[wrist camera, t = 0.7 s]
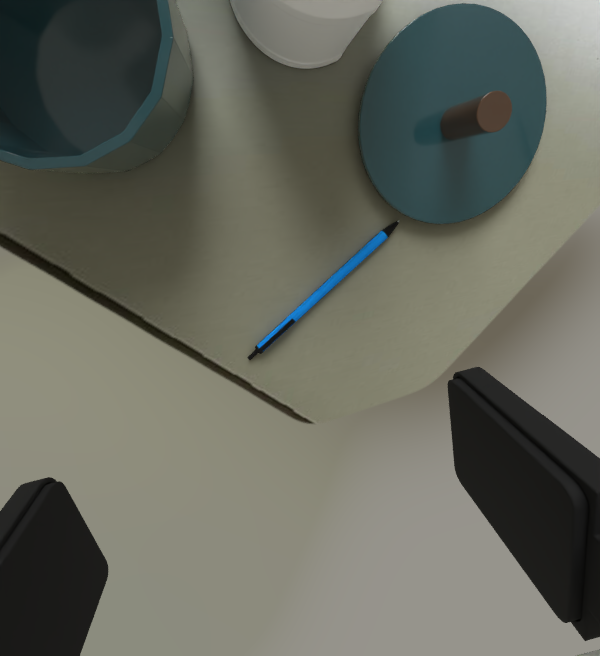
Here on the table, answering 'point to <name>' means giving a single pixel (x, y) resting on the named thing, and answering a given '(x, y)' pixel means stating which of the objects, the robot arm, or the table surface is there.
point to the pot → (91, 82)
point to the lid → (452, 113)
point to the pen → (324, 289)
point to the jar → (303, 28)
